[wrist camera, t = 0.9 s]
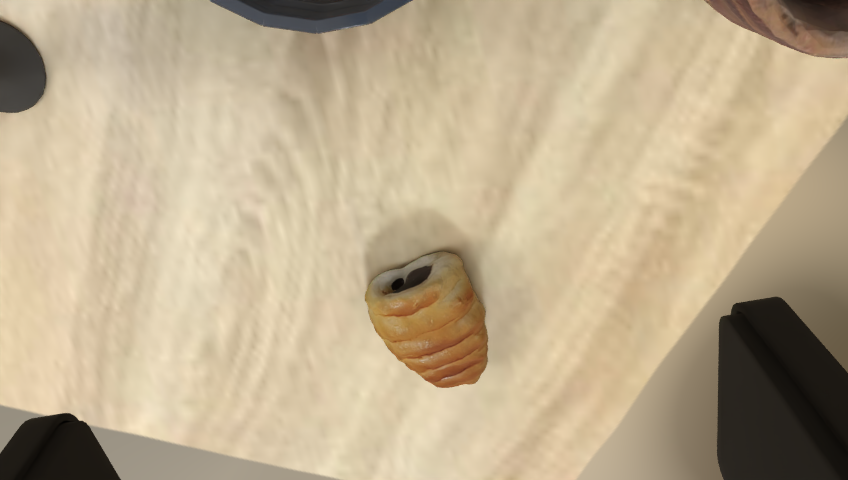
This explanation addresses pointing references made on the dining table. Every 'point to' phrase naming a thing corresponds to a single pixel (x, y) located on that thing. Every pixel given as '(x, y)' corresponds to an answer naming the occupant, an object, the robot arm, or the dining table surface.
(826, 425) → the robot arm
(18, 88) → the sundae
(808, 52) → the mortar and pestle
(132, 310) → the dining table surface
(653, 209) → the dining table surface
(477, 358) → the pastry
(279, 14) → the bowl
